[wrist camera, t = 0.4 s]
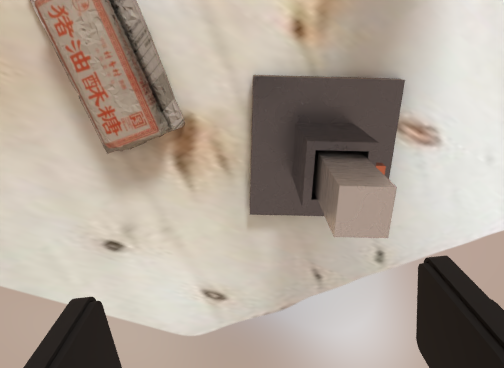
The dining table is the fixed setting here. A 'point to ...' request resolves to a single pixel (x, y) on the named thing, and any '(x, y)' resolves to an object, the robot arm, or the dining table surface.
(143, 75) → the packaged product
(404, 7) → the dining table surface
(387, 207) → the column
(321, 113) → the stand housing
